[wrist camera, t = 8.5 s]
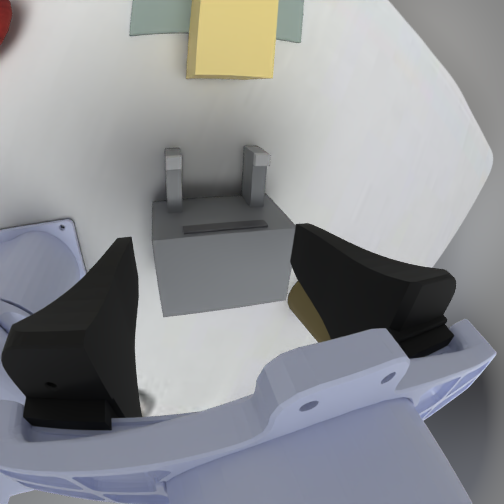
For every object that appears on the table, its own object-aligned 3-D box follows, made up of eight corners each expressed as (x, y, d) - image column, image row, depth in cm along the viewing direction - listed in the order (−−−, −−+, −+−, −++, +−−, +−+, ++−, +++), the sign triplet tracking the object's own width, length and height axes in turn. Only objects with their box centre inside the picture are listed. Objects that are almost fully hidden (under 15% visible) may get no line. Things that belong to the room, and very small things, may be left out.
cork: (318, 260, 29) (380, 338, 20) (346, 285, 32) (401, 354, 23) (276, 301, 30) (322, 387, 21) (308, 320, 34) (353, 394, 25)
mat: (130, 36, 14) (129, 35, 14) (137, -29, 11) (137, -31, 11) (298, 43, 17) (300, 42, 17) (302, -16, 14) (304, -18, 14)
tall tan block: (186, 78, 17) (195, 74, 12) (194, -23, 12) (207, -54, 8) (244, 79, 18) (272, 78, 13) (252, -18, 14) (281, -44, 9)
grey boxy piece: (159, 267, 24) (163, 317, 19) (149, 149, 19) (146, 173, 14) (260, 257, 27) (285, 299, 22) (270, 146, 21) (306, 167, 17)
